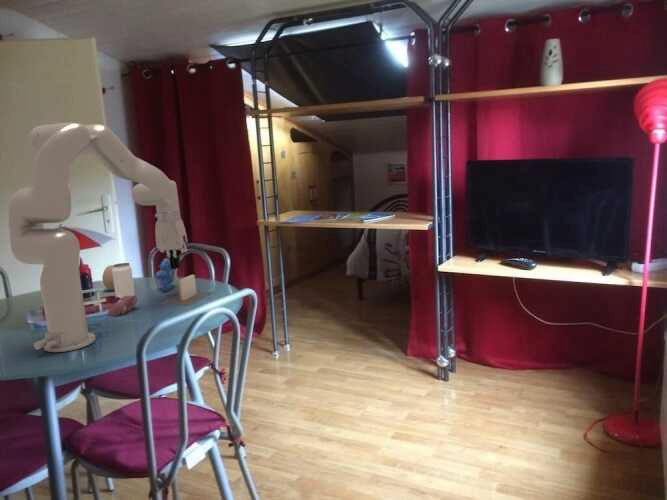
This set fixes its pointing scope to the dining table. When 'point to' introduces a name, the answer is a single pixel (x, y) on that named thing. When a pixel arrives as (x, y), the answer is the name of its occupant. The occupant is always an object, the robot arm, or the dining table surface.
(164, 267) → the grapes
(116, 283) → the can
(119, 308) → the red lumpy clump
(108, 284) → the egg
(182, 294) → the tile
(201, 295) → the mat
